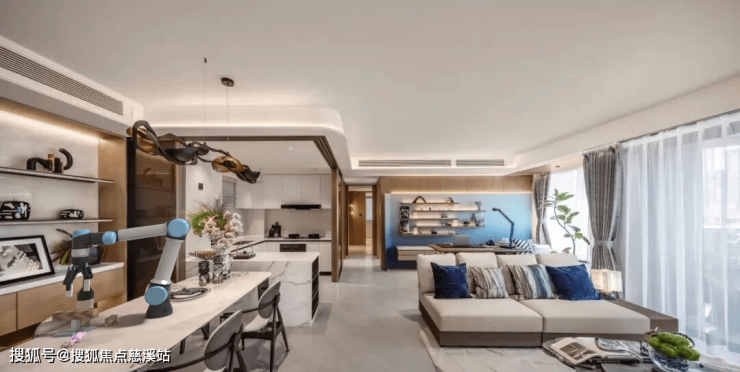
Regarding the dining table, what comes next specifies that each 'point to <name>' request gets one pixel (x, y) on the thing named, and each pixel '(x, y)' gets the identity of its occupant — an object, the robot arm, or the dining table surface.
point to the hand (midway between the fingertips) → (78, 293)
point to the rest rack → (108, 321)
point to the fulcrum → (74, 329)
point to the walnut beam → (75, 314)
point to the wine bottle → (85, 298)
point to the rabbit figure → (74, 339)
